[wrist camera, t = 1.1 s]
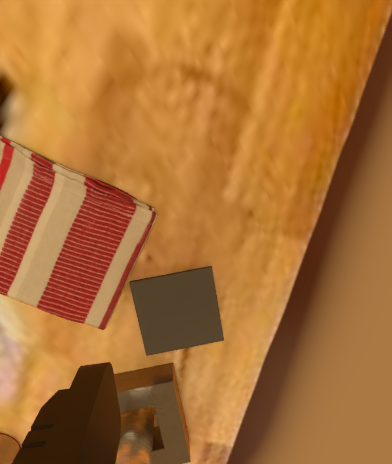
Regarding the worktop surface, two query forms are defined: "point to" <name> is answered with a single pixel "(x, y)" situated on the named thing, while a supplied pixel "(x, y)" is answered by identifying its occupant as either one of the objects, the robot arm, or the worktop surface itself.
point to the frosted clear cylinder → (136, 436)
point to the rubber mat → (177, 310)
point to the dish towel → (66, 237)
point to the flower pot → (8, 449)
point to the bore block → (157, 409)
